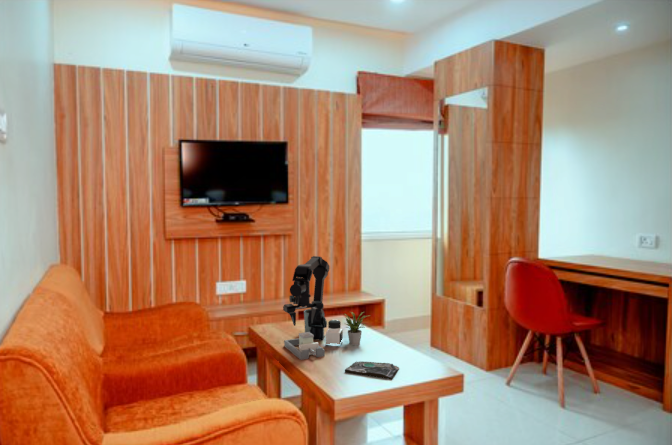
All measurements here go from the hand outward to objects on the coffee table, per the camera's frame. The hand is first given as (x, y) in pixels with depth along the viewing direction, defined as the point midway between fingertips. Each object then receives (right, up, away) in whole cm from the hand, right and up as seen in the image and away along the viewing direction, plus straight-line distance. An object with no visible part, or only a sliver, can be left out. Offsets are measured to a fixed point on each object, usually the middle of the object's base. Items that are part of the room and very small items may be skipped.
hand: (303, 324), depth 228 cm
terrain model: (+31, -15, -23) cm, 42 cm away
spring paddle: (+4, -13, -8) cm, 16 cm away
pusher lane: (0, -13, 0) cm, 13 cm away
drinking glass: (+3, -11, +30) cm, 32 cm away
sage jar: (+1, -13, -2) cm, 13 cm away
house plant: (+26, -12, +13) cm, 32 cm away
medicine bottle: (+15, -13, +11) cm, 22 cm away
